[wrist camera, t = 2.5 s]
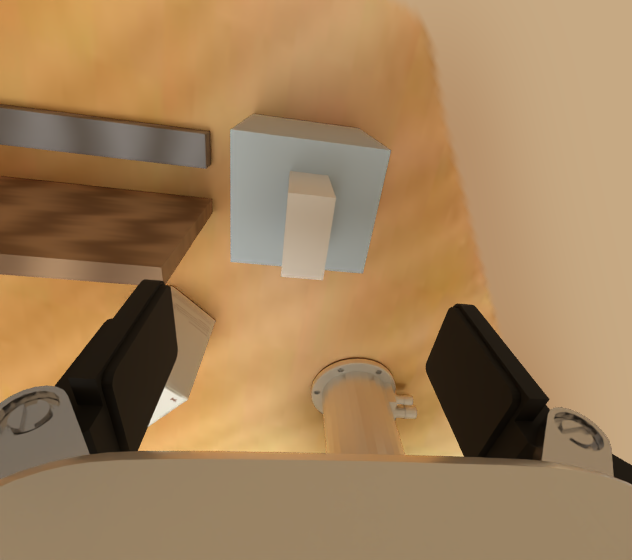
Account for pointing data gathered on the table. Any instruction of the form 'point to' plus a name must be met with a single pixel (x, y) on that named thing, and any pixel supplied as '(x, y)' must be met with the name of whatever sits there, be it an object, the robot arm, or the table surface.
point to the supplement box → (184, 352)
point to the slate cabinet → (303, 195)
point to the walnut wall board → (97, 202)
